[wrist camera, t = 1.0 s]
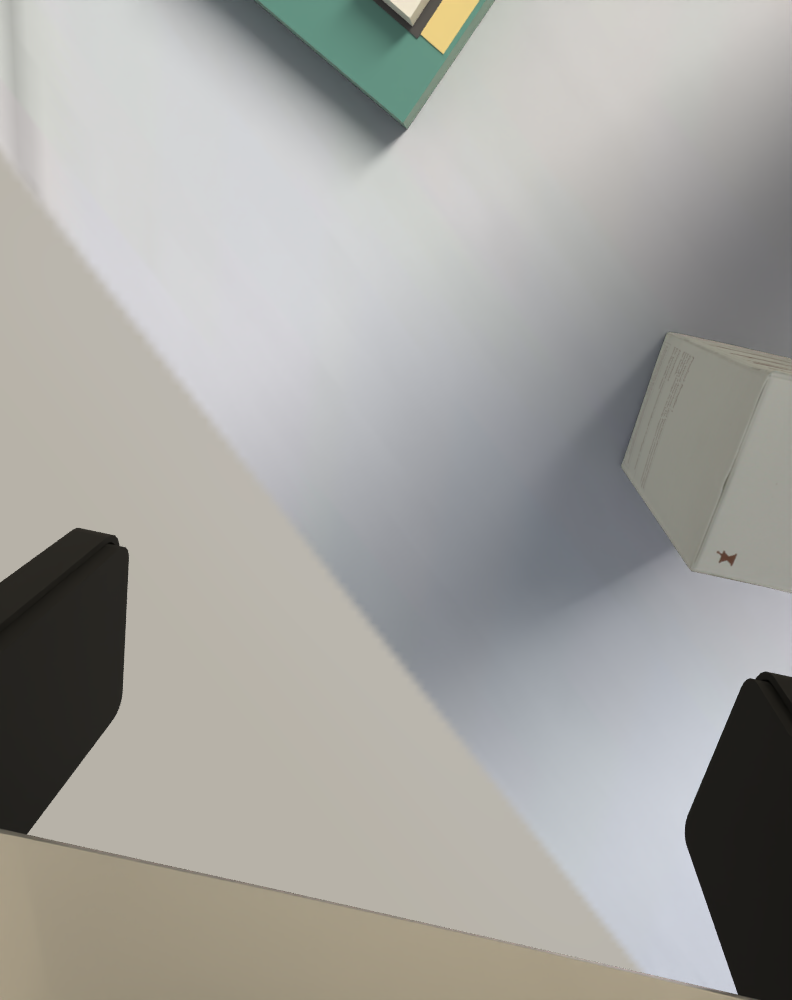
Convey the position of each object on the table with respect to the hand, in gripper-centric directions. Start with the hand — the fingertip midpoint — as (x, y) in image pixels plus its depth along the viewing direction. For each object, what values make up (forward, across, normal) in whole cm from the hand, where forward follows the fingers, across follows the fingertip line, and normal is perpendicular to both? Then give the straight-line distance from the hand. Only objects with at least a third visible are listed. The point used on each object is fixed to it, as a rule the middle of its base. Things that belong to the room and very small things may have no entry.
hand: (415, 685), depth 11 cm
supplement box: (+27, -13, 0) cm, 30 cm away
